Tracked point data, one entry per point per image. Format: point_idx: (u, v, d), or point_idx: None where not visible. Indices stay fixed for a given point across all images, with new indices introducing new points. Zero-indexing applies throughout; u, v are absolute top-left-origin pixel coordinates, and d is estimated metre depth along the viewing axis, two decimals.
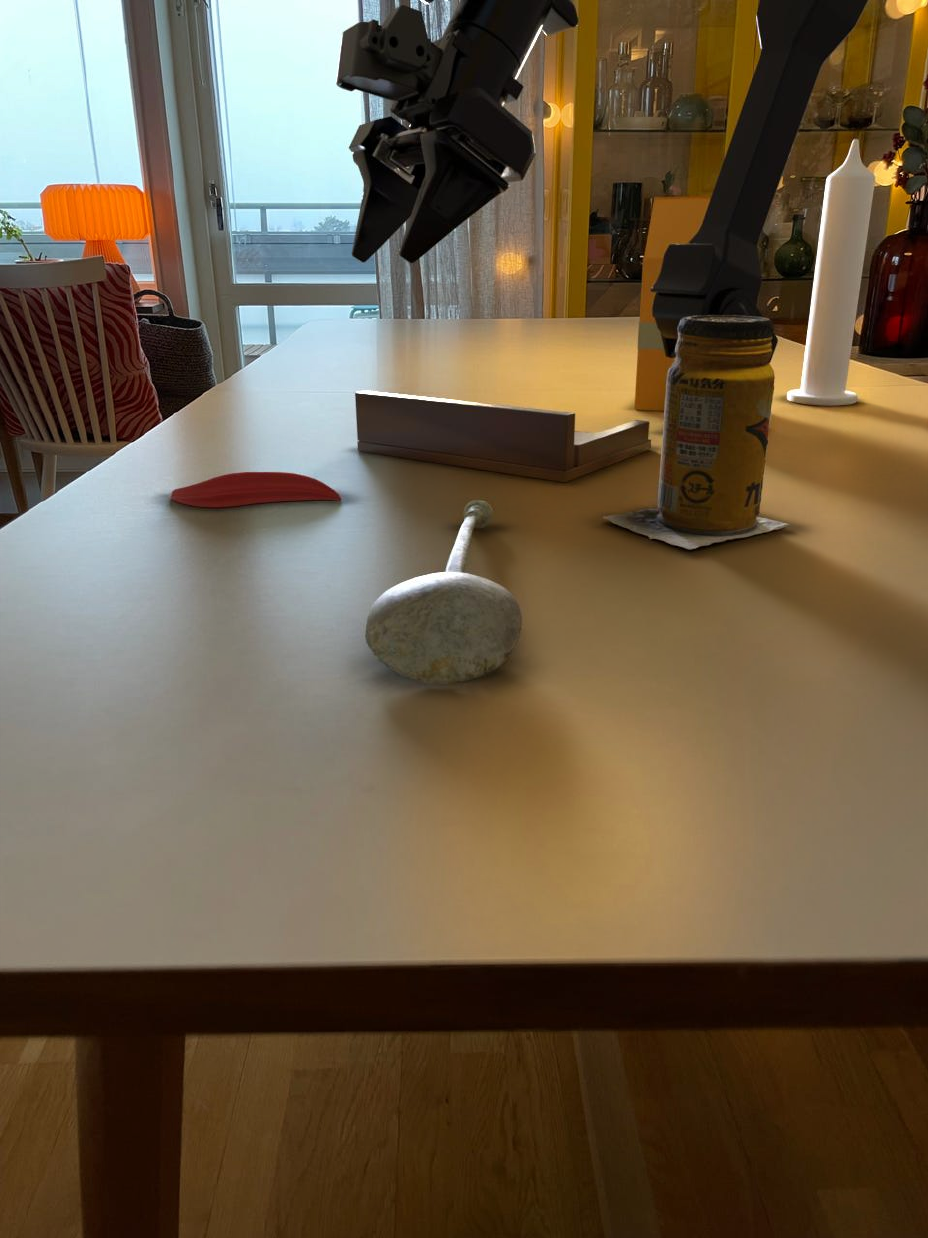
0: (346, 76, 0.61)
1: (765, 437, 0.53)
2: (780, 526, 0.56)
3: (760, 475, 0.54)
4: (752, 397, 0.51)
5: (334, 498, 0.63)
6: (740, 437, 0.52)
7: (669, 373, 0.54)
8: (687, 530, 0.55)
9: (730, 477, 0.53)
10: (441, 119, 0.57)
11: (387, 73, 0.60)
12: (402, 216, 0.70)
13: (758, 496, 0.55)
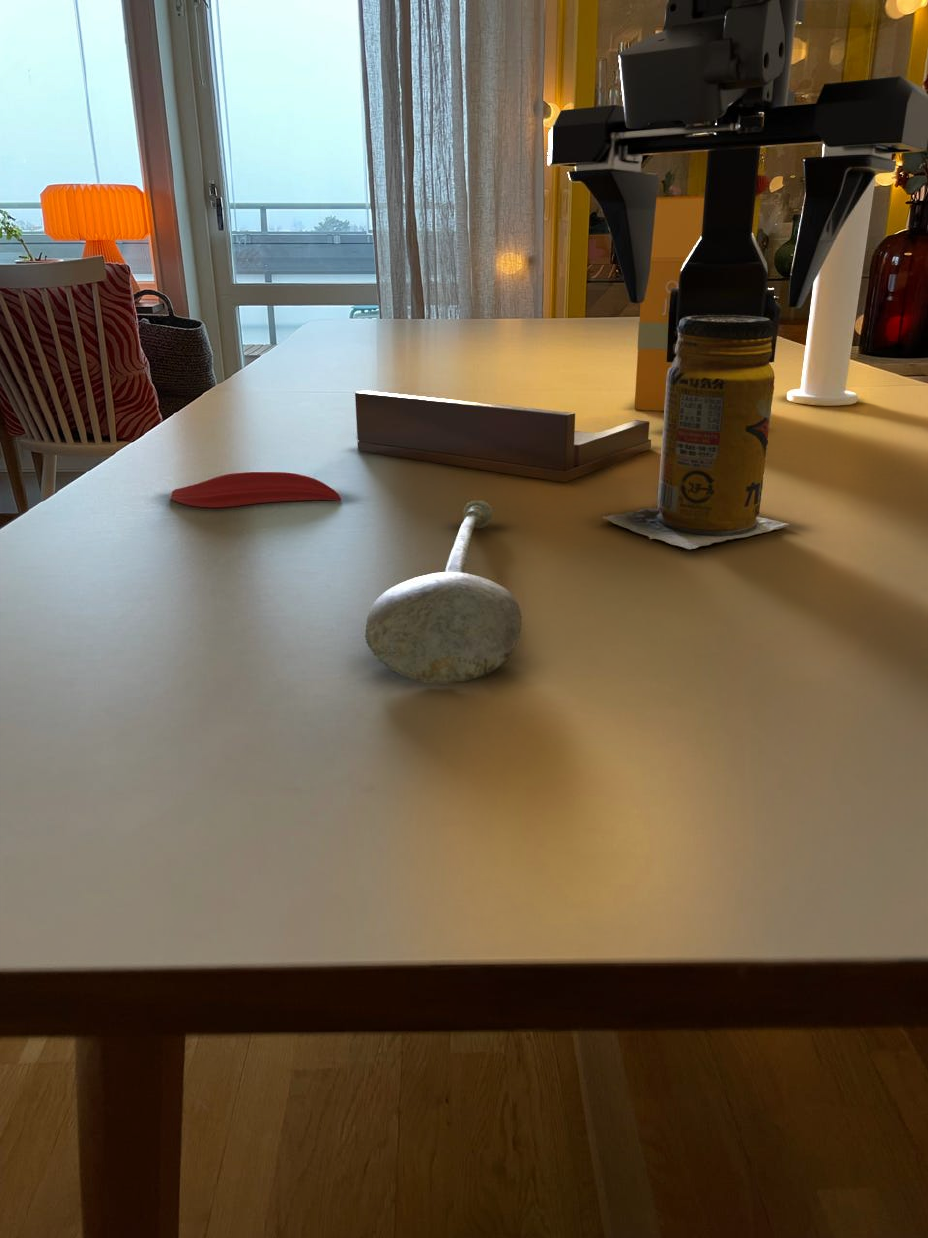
0: (669, 120, 0.43)
1: (765, 437, 0.53)
2: (780, 526, 0.56)
3: (760, 475, 0.54)
4: (752, 397, 0.51)
5: (334, 498, 0.63)
6: (740, 437, 0.52)
7: (669, 373, 0.54)
8: (687, 530, 0.55)
9: (730, 477, 0.53)
10: (864, 141, 0.43)
11: (731, 95, 0.43)
12: (651, 219, 0.54)
13: (758, 496, 0.55)
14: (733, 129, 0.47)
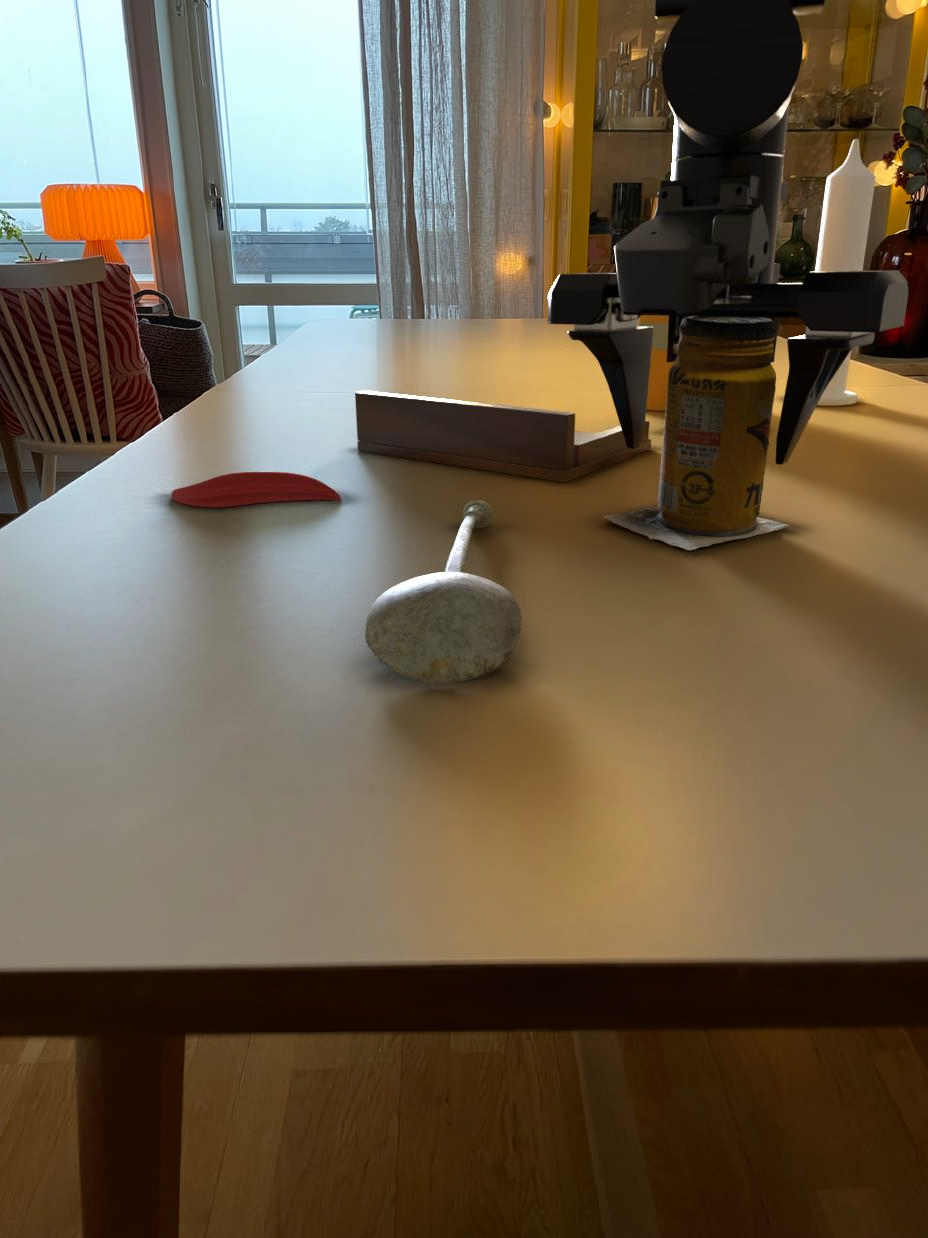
0: (662, 309, 0.46)
1: (766, 438, 0.53)
2: (780, 527, 0.56)
3: (760, 476, 0.54)
4: (753, 398, 0.51)
5: (334, 498, 0.63)
6: (740, 439, 0.52)
7: (670, 373, 0.54)
8: (687, 531, 0.55)
9: (730, 478, 0.53)
10: (844, 329, 0.45)
11: (719, 286, 0.46)
12: (647, 369, 0.57)
13: (758, 497, 0.55)
14: (723, 303, 0.50)
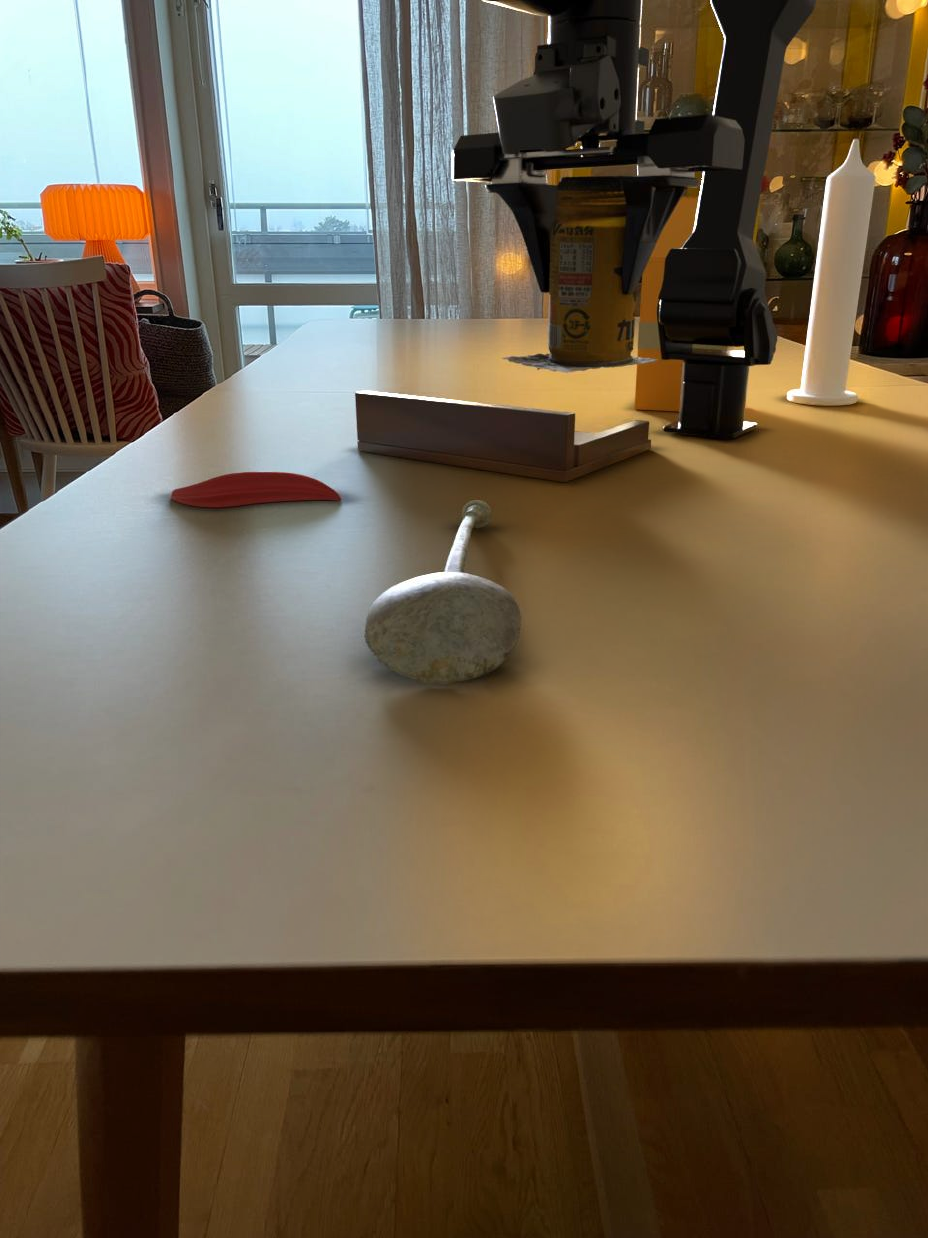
0: (533, 149, 0.55)
1: None
2: (650, 361, 0.66)
3: (630, 314, 0.64)
4: (618, 242, 0.61)
5: (334, 498, 0.63)
6: (609, 278, 0.62)
7: (551, 226, 0.63)
8: (570, 363, 0.64)
9: (603, 313, 0.63)
10: (684, 164, 0.55)
11: (581, 128, 0.55)
12: None
13: (630, 333, 0.64)
14: (613, 151, 0.58)
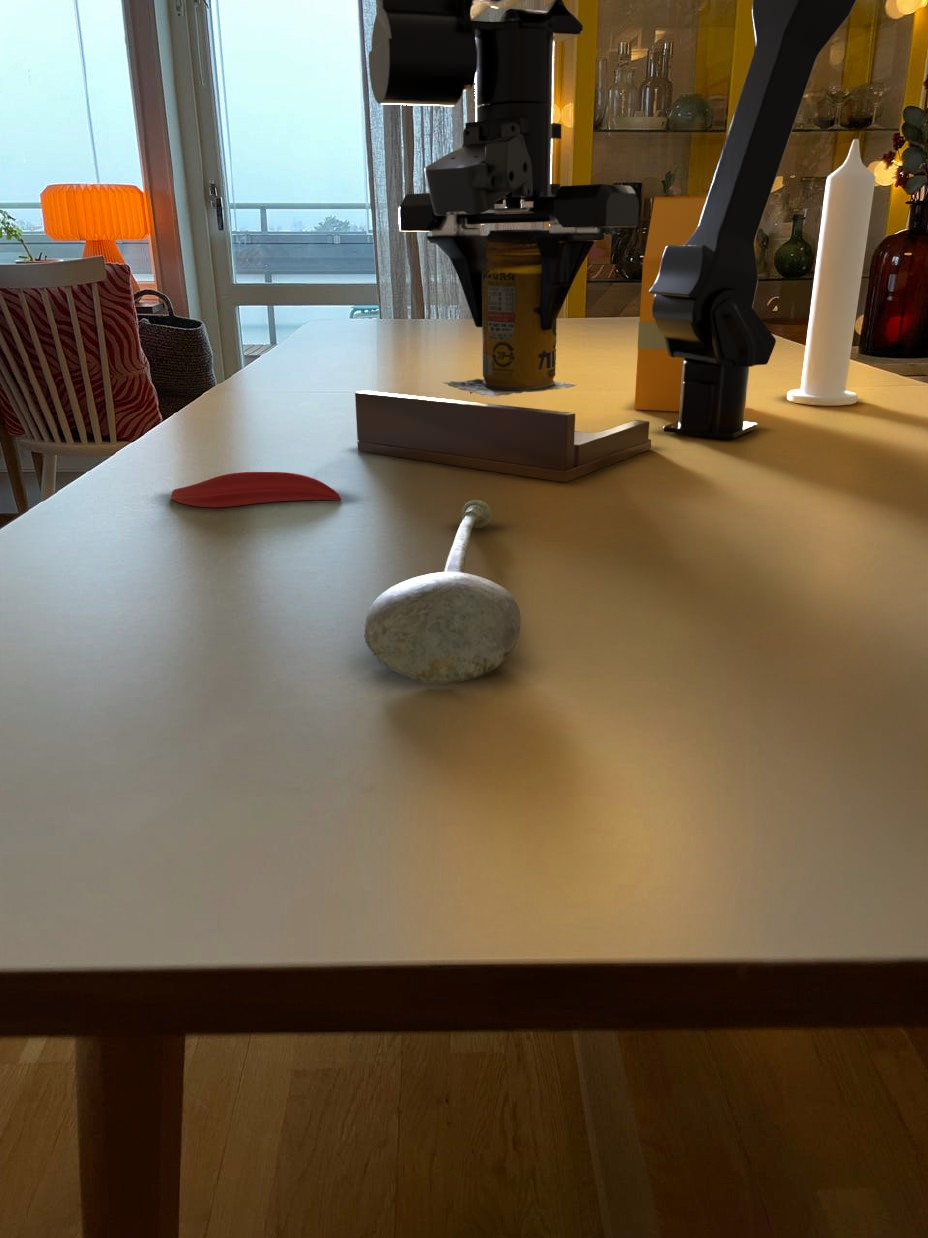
0: (458, 211, 0.66)
1: None
2: (569, 386, 0.76)
3: (550, 346, 0.74)
4: (536, 286, 0.72)
5: (334, 498, 0.63)
6: (529, 316, 0.72)
7: (482, 271, 0.74)
8: (499, 388, 0.75)
9: (525, 346, 0.73)
10: (583, 224, 0.65)
11: (497, 195, 0.66)
12: None
13: (550, 362, 0.75)
14: (529, 211, 0.69)
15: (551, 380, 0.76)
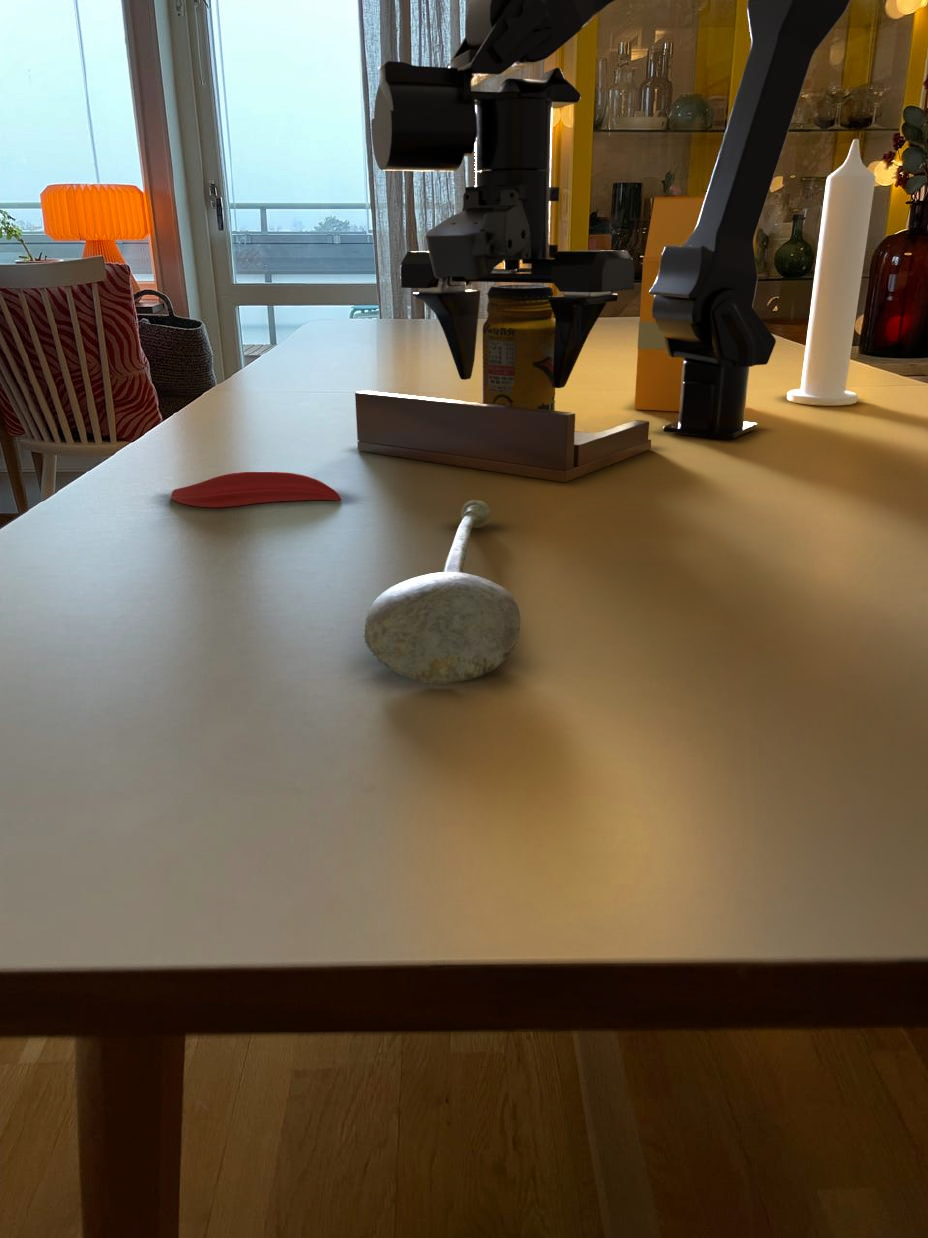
0: (457, 276, 0.68)
1: (550, 371, 0.75)
2: None
3: (549, 398, 0.76)
4: (535, 341, 0.73)
5: (334, 498, 0.63)
6: (529, 370, 0.74)
7: (483, 326, 0.76)
8: None
9: (524, 398, 0.75)
10: (579, 290, 0.67)
11: (496, 260, 0.67)
12: (475, 321, 0.79)
13: None
14: (511, 272, 0.72)
15: None
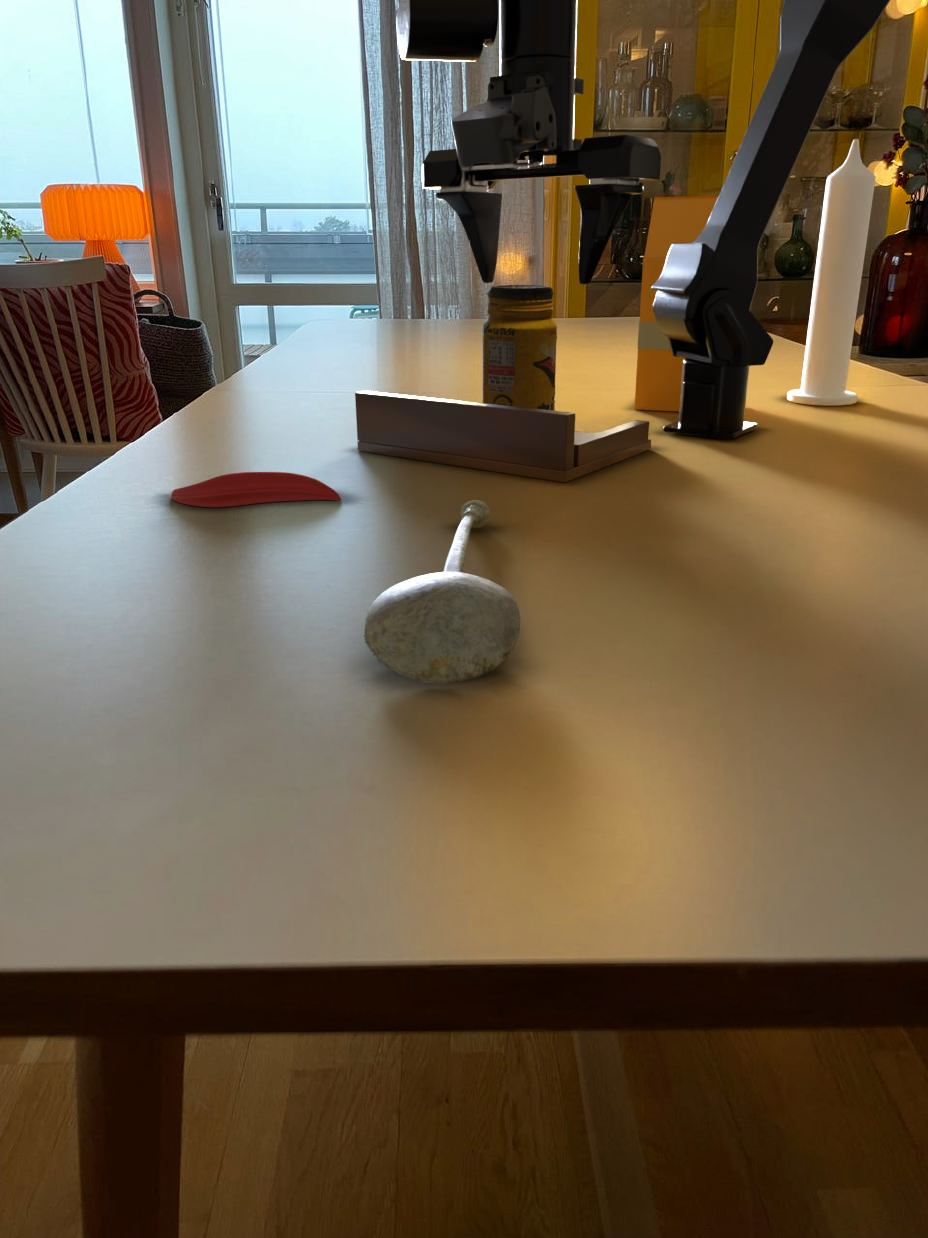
0: (484, 162, 0.67)
1: (550, 371, 0.75)
2: None
3: (549, 398, 0.76)
4: (535, 341, 0.73)
5: (334, 498, 0.63)
6: (529, 370, 0.74)
7: (483, 326, 0.76)
8: None
9: (524, 398, 0.75)
10: (607, 175, 0.67)
11: (522, 146, 0.67)
12: (497, 224, 0.78)
13: None
14: (536, 165, 0.71)
15: None
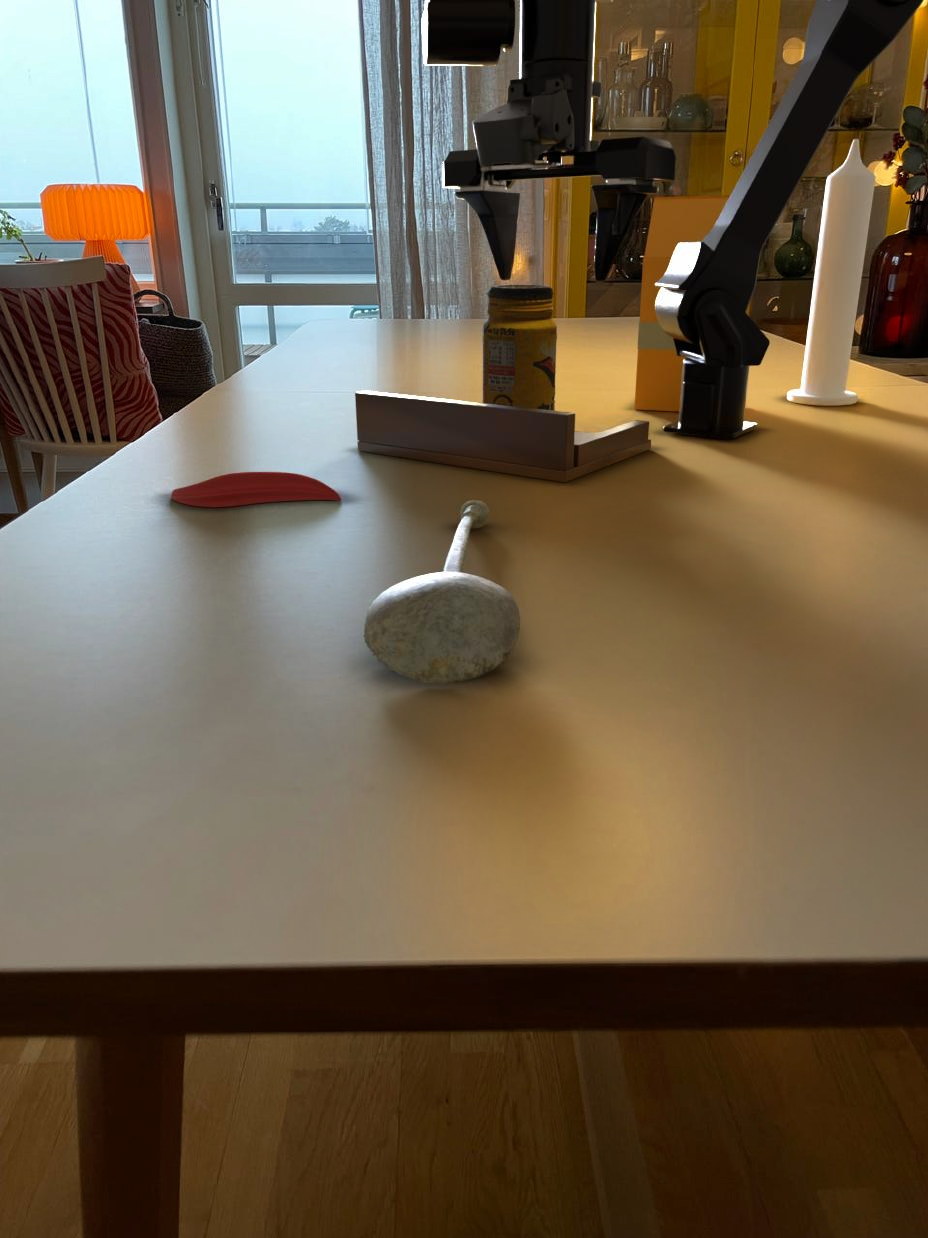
0: (504, 162, 0.69)
1: (550, 371, 0.75)
2: None
3: (549, 398, 0.76)
4: (535, 341, 0.73)
5: (334, 498, 0.63)
6: (529, 370, 0.74)
7: (483, 326, 0.76)
8: None
9: (524, 398, 0.75)
10: (623, 175, 0.69)
11: (541, 147, 0.69)
12: (514, 223, 0.80)
13: None
14: (554, 166, 0.73)
15: None
